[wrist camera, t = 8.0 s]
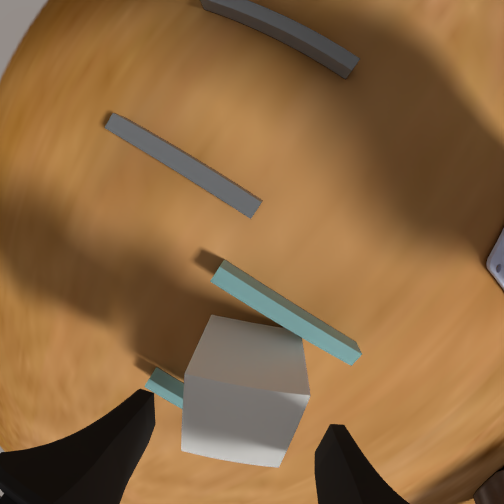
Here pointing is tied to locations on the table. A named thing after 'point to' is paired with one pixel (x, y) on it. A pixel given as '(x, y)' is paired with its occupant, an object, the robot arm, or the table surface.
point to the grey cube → (244, 392)
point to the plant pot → (491, 490)
